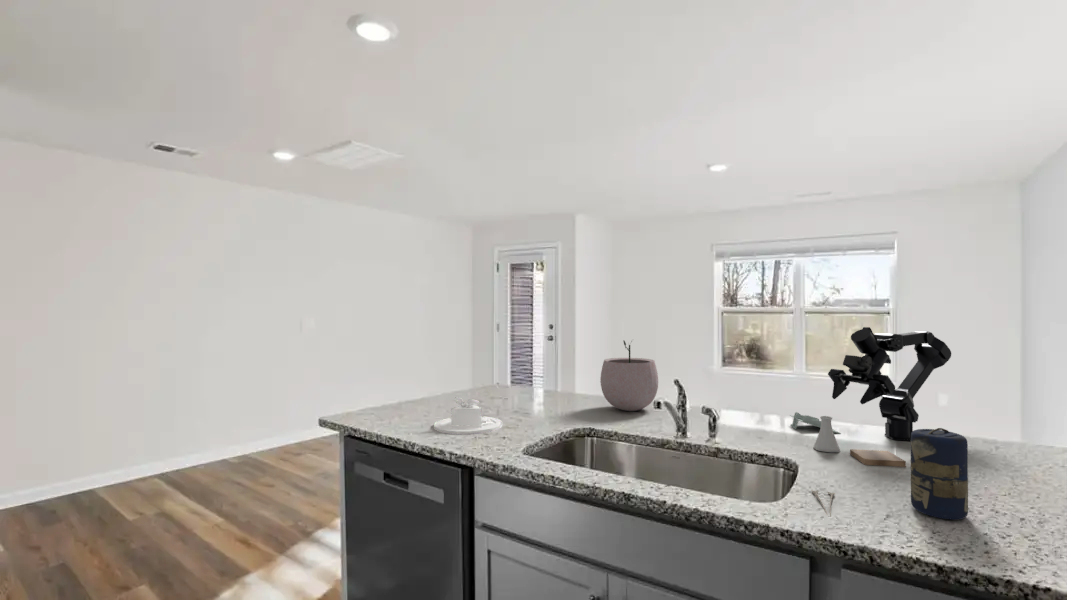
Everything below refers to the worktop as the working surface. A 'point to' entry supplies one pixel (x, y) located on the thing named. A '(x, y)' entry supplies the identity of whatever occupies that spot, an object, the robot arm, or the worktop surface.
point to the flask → (826, 437)
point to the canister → (939, 473)
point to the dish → (467, 419)
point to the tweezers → (821, 501)
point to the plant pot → (629, 382)
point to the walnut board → (877, 458)
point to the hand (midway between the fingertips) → (846, 400)
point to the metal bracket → (807, 421)
